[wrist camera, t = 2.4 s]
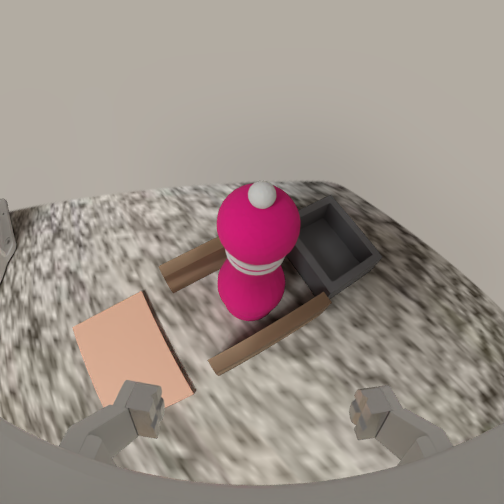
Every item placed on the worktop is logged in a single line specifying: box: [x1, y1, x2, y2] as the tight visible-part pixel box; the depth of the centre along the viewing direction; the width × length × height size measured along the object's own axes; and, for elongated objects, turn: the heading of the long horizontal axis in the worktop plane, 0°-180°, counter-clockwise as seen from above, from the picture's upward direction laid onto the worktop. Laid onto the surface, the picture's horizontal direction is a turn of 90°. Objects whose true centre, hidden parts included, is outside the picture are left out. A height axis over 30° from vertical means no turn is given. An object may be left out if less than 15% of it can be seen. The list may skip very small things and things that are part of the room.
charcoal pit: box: [286, 195, 382, 299], centre depth 36 cm, size 11×9×4 cm
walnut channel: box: [159, 237, 332, 376], centre depth 32 cm, size 13×14×5 cm
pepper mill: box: [217, 181, 301, 321], centre depth 26 cm, size 7×7×20 cm
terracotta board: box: [72, 291, 194, 408], centre depth 30 cm, size 14×11×1 cm
